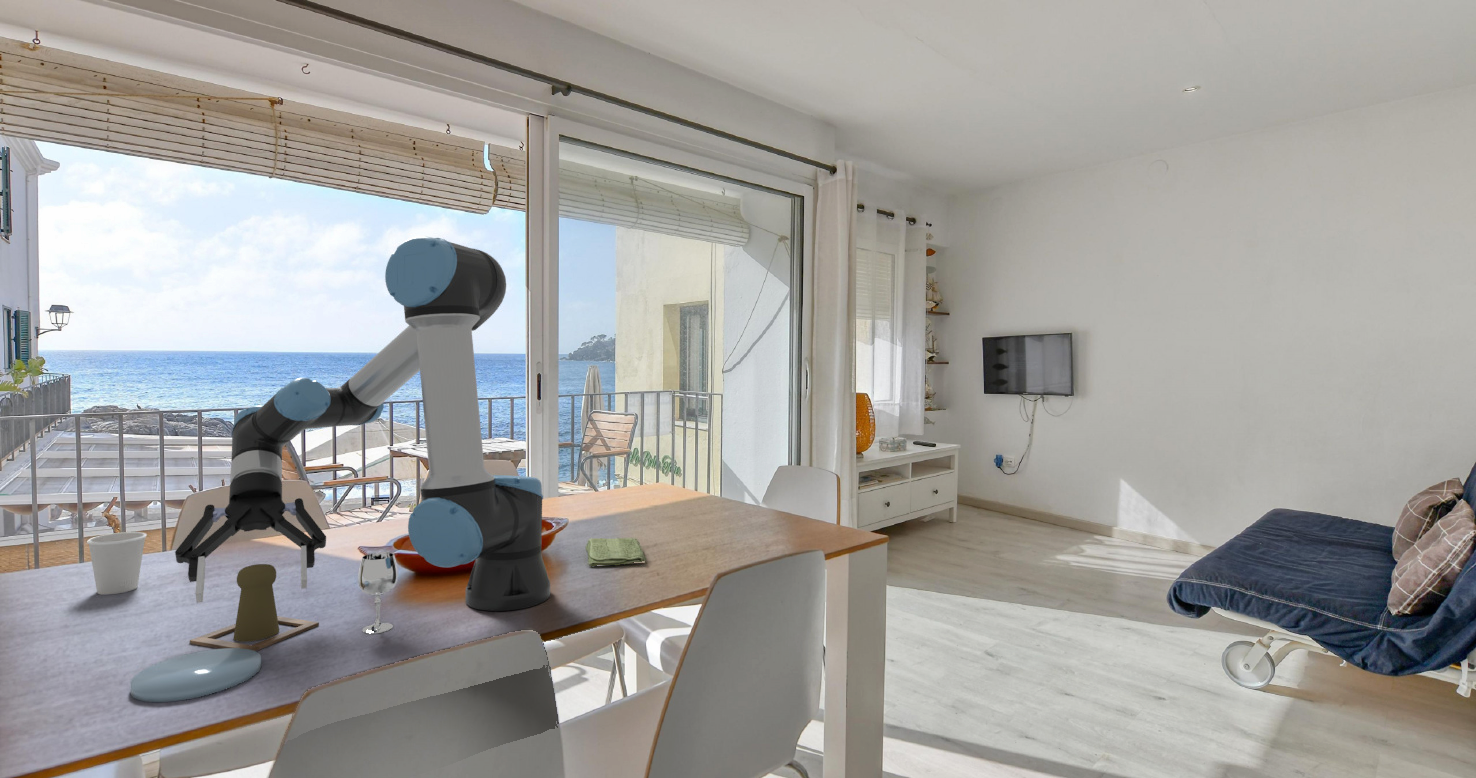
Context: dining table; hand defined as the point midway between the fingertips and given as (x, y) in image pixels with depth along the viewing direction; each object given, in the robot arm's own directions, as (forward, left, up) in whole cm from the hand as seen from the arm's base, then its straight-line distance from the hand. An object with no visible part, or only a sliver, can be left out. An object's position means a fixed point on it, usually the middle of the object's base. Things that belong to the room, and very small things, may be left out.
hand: (253, 591), depth 109 cm
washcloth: (-33, -61, -8) cm, 70 cm away
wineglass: (-16, -8, -7) cm, 20 cm away
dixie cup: (+44, -8, -7) cm, 45 cm away
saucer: (-7, +14, -7) cm, 17 cm away
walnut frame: (0, 0, -7) cm, 7 cm away
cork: (0, 0, -7) cm, 7 cm away
